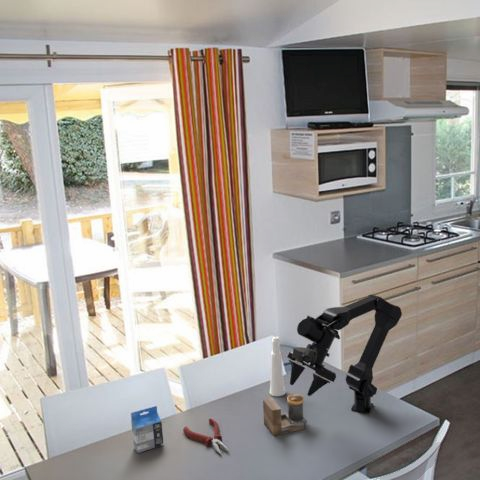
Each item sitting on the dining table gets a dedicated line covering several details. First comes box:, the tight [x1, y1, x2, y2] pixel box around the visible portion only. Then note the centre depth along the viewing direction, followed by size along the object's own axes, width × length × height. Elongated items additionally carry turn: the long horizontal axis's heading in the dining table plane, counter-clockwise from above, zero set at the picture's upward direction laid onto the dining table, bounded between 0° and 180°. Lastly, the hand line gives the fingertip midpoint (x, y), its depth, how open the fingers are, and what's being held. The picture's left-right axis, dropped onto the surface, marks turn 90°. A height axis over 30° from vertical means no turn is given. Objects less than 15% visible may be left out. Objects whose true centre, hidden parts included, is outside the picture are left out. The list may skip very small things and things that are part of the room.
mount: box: [262, 397, 306, 437], centre depth 192 cm, size 12×8×9 cm
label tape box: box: [130, 405, 165, 454], centre depth 184 cm, size 9×4×12 cm, turn 118°
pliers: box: [182, 418, 231, 456], centre depth 187 cm, size 12×20×3 cm, turn 30°
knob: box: [285, 393, 308, 424], centre depth 194 cm, size 5×6×8 cm
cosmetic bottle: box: [268, 336, 287, 397], centre depth 214 cm, size 6×6×22 cm
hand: (299, 390), depth 186 cm, fingers open, 9 cm apart
